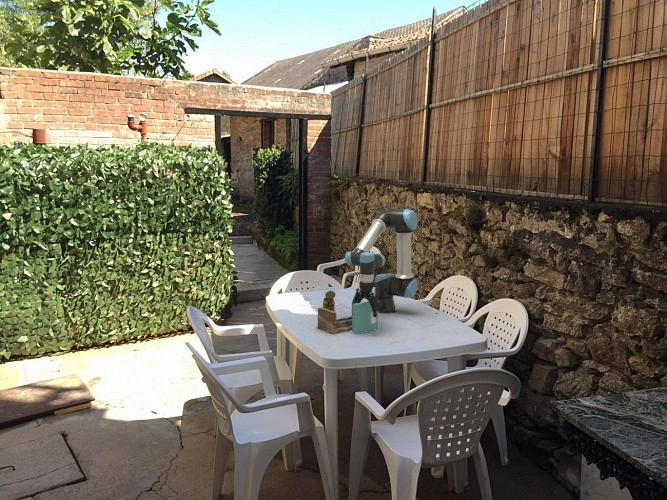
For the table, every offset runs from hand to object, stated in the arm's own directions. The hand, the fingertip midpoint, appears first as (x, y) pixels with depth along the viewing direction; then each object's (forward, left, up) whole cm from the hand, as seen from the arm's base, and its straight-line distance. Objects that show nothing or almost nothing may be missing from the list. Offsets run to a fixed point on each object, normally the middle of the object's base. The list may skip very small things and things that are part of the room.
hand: (365, 320), depth 290 cm
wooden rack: (+5, -12, -6) cm, 14 cm away
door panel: (0, 0, -6) cm, 6 cm away
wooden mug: (0, -33, -7) cm, 34 cm away
